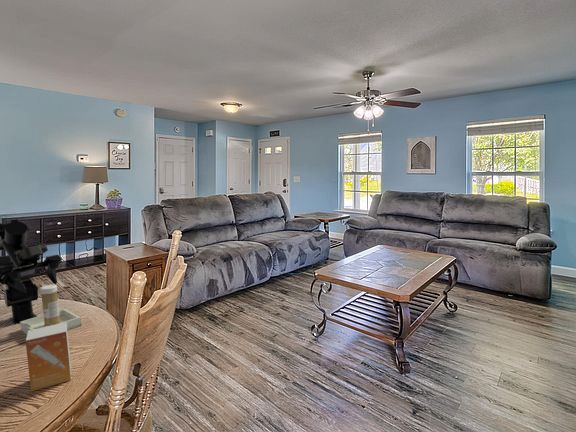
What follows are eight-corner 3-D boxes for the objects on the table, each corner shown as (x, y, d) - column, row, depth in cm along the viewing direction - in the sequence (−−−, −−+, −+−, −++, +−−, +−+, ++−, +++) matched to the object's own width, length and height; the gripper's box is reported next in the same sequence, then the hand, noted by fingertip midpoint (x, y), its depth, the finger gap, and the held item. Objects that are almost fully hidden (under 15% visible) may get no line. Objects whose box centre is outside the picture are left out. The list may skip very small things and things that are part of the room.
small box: (30, 392, 78) (24, 340, 76) (33, 379, 83) (27, 329, 81) (71, 380, 82) (66, 331, 81) (71, 368, 88) (66, 321, 86)
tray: (21, 330, 109) (20, 321, 109) (65, 316, 120) (64, 308, 119) (35, 341, 102) (34, 332, 101) (81, 325, 112) (80, 317, 112)
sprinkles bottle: (42, 325, 111) (38, 286, 109) (58, 320, 114) (54, 283, 113) (46, 329, 108) (42, 289, 106) (62, 324, 111) (58, 285, 110)
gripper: (-8, 242, 102) (16, 281, 99) (56, 232, 119) (78, 265, 116) (-18, 264, 106) (5, 302, 103) (45, 251, 123) (66, 284, 120)
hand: (41, 287), depth 110 cm, fingers open, 9 cm apart
